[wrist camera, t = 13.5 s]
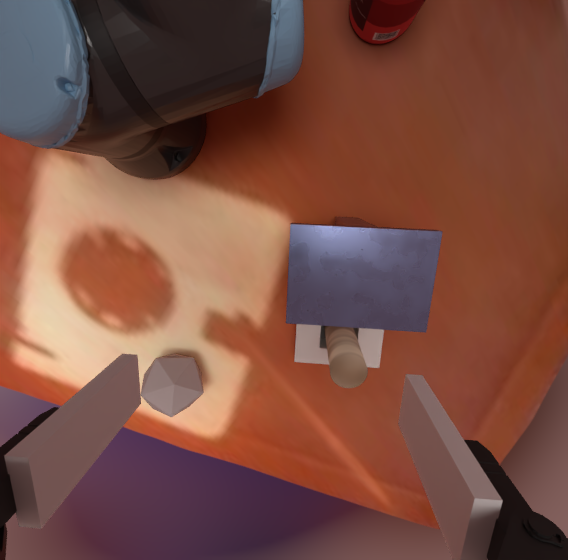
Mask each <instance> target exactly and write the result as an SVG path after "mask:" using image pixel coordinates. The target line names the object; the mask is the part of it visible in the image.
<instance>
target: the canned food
mask: <svg viewBox="0 0 568 560" xmlns="http://www.w3.org/2000/svg"><path fill="white" fill-rule="evenodd" d="M424 1H425V0H350V5H349V15H350V21H351V23H352V26H353V29H354V30H355V32H356V34H357V35H358V36H359V37H360V38H361V39H363V40H364V41H366V42H368V43H371V44H384V43H387V42H390V41H392V40H394V39H396V38H398V37H399V36H400V35H401V34H403V33H404V32H405V30H406V29H407V28H408V27H409V26H410V24H411V22H412V21H413V19H414V18H415V16H416V14H417V13H418V11H419V9H420V8H421V6H422V5H423V3H424Z"/></svg>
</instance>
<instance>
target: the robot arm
mask: <svg viewBox="0 0 568 560" xmlns="http://www.w3.org/2000/svg"><path fill="white" fill-rule="evenodd" d="M303 50H304V13H303V0H0V133H2V134H4V135H6V136H8V137H11V138H14V139H17V140H20V141H23V142H26V143H29V144H31V145H33V146H37V147H40V148H47V149H50V148H54V149H60V150H66V151H72V152H77V153H83V154H89V155H95V156H100V157H104V158H106V159H107V160H108V161H109V162H110V163H111V164H112V165H114V166H115V167H116V168H118V169H120V170H121V171H123V172H125V173H127V174H130V175H132V176H135V177H140V178H147V179H164V178H169V177H172V176H174V175H177V174H178V173H180V172H182V171H183V170H185V169H186V168H187V167H188V166H189V165H190V164H191V163H192V162H193V161H194V160H195V158H196V157H197V155H198V154H199V152H200V150H201V147H202V145H203V142H204V138H205V133H206V113H207V112H210V111H213V110H216V109H219V108H222V107H225V106H228V105H231V104H234V103H237V102H240V101H243V100H246V99H249V98H252V97H253V98H259V97H260V96H262V95H263V94H264V92H267V91H269V90H272V89H274V88H277V87H279V86H282V85H284V84H287V83H289V82H290V81H291V80H292V79H293V78H294V76H295V75H296V74H297V73H298V71H299V69H300V67H301V63H302V58H303ZM140 404H141V397H140V384H139V371H138V358H137V355H132V354H122V355H120V356H119V357H118V358H117V359H116V360H115V361H113V362H112V363H111V364H110V365H109V366H108V367H106V368H105V369H104V370H103V371H102V372H101V373H99V374H98V375H97V376H96V377H95V378H94V379H93V380H91V381H90V382H89V383H88V384H87V385H86V386H84V387H83V388H82V389H81V390H80V391H79V392H77V393H76V394H75V395H74V396H73V397H72V398H71V399H69V400H68V401H67V402H66V403H65V404H64V405H62V406H61V407H60V408H56V407H54V408H52V409H50V410H48V411H47V412H44V413H42V414H40V415H39V416H38V417H36V418H35V419H34V420H33V421H32V422H30V423H29V424H28V426H26V427H24V428H23V429H22V430H21V431H19V433H18V434H16V435H15V436H13V437H12V438H11V439H10V440H8V441H7V442H6V443H5V444H4V445H2V446H1V447H0V560H5V556H6V541H7V540H6V539H7V528H6V524H5V523H6V522H7V521H8V520H9V519H10V518H11V517H12V515H13V514H14V513H15V512H16V515H17V520H18V525H19V526H20V527H30V528H40V529H42V527H43V526H44V525H45V524H46V522H47V521H48V520H49V518H50V517H51V516H52V515H53V513H54V512H55V511H56V510H57V508H58V507H59V506H60V505H61V503H62V502H63V501H64V500H65V498H66V497H67V495H69V493H70V492H71V491H72V490H73V488H74V487H75V486H76V484H77V483H78V482H79V481H80V479H81V478H82V477H83V476H84V474H85V473H86V472H87V471H88V469H89V468H90V467H91V465H92V464H93V463H94V462H95V461H96V459H97V458H98V457H99V456H100V454H101V453H102V452H103V451H104V449H105V448H106V447H107V445H108V444H109V443H110V442H111V440H112V439H113V438H114V437H115V435H116V434H117V433H118V431H119V430H120V429H121V428H122V427H123V425H124V424H125V423H126V422H127V420H128V419H129V418H130V417H131V415H132V414H133V413H134V411H135V410H136V409H137V408H138V406H139V405H140ZM398 424H399V427H400V429H401V432H402V434H403V437H404V439H405V442H406V444H407V447H408V449H409V452H410V454H411V457H412V459H413V462H414V464H415V467H416V469H417V472H418V474H419V477H420V479H421V482H422V484H423V487H424V489H425V492H426V494H427V497H428V499H429V502H430V504H431V506H432V509H433V511H434V514H435V516H436V519H437V521H438V524H439V526H440V529H441V531H442V534H443V536H444V539H445V541H446V544H447V546H448V549H449V551H450V554H451V556H452V559H453V560H487V559H488V560H568V538H566V536H565V535H564V533H563V532H562V531H561V530H560V529H559V528H558V527H557V526H556V525H555V524H554V523H553V522H552V521H550V520H549V519H547V518H545V517H544V516H543V515H540V514H538V513H536V512H533V511H532V509H531V508H530V507H529V505H528V504H527V502H526V501H525V500H524V498H523V497H522V495H521V494H520V493H519V491H518V490H517V489H516V487H515V486H514V484H513V483H512V481H511V480H510V479H509V477H508V476H506V473H505V472H504V470H503V469H502V467H501V466H499V463H498V462H497V460H496V459H495V458H494V456H493V455H492V453H491V452H490V451H489V450H488V449H486V448H485V447H484V446H483V445H482V444H480V443H479V442H478V441H473V440H463V438H462V436H461V435H460V433H459V432H458V430H457V429H456V427H455V426H454V424H453V422H452V421H451V419H450V418H449V416H448V415H447V413H446V412H445V410H444V408H443V407H442V405H441V404H440V402H439V401H438V399H437V398H436V396H435V394H434V393H433V391H432V390H431V388H430V387H429V385H428V384H427V382H426V380H425V379H424V377H423V376H422V375H411V374H406V376H405V383H404V390H403V396H402V403H401V409H400V416H399V423H398Z"/></svg>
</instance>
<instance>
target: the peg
mask: <svg viewBox="0 0 568 560" xmlns="http://www.w3.org/2000/svg"><path fill="white" fill-rule="evenodd" d="M324 330H325V337H326V345H327V352H328V360H329V367H330V375H331V378H332V380H333V381H334V382H335V383H336V384H337V385H339V386H341V387H344V388H354V387H357V386H359V385H360V384H362V383H363V382H364V380H365V379H366V377H367V373H368V370H367V366H366V363H365V360H364V357H363V354H362V351H361V348H360V346H359V343H358V340H357V337H356V334H355V331H354V328H351V327H336V326H324Z"/></svg>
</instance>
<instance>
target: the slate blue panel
mask: <svg viewBox="0 0 568 560" xmlns="http://www.w3.org/2000/svg"><path fill="white" fill-rule="evenodd" d="M441 238H442V231H438V230H427V229H406V228H386V227H377V226H375V225H373V224H370V223H368V222H366V221H364V220H361V219H359V218H355V217H335V225H324V224H304V223H291V226H290V247H289V268H288V290H287V311H286V323H290V324H305V325H321V326H336V327H351V328H367V329H382V330H397V331H413V332H426V329H427V323H428V317H429V311H430V305H431V299H432V293H433V287H434V280H435V274H436V268H437V262H438V256H439V250H440V244H441Z"/></svg>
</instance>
